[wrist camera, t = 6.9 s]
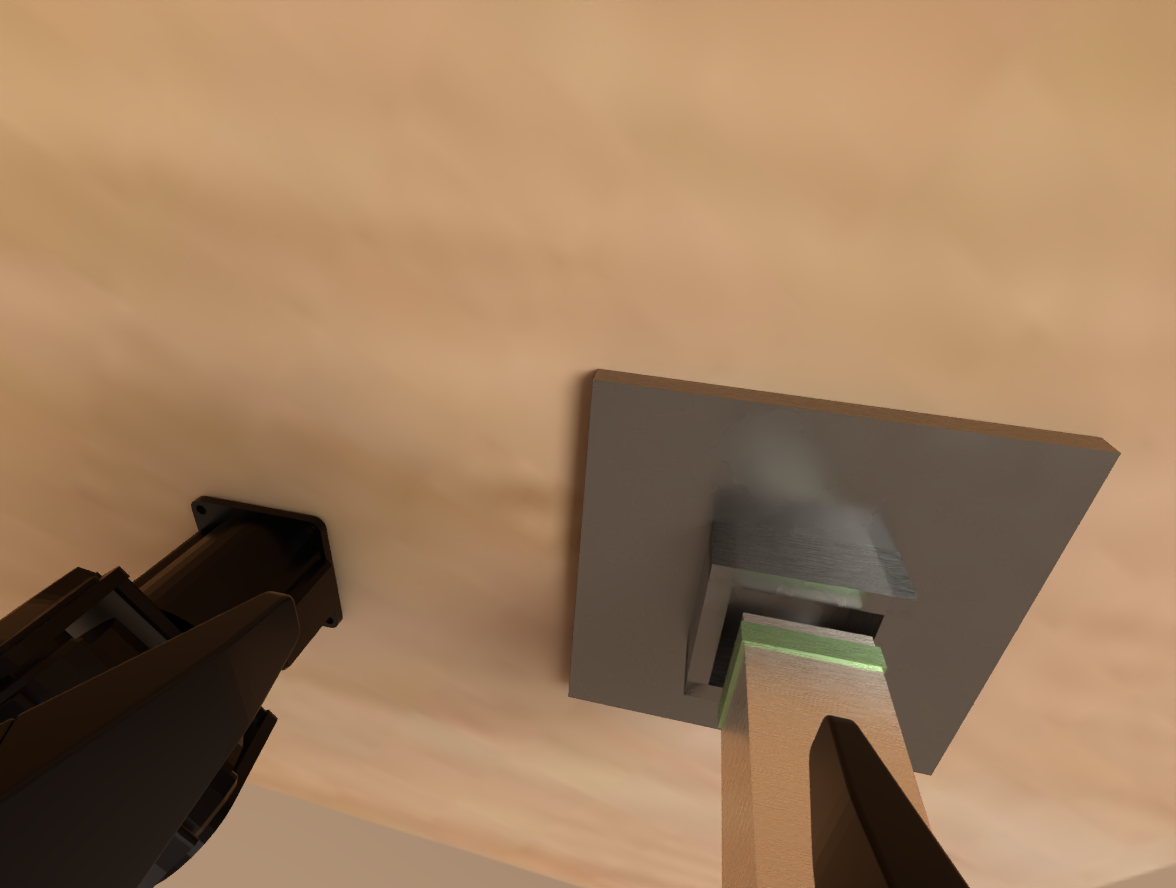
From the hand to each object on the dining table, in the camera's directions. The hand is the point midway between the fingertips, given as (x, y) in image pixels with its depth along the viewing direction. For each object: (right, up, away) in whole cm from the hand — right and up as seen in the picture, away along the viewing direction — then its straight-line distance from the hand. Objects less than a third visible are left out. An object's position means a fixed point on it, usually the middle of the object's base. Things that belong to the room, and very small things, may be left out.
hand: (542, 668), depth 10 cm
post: (+8, -4, +10) cm, 13 cm away
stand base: (+8, -2, +14) cm, 16 cm away
